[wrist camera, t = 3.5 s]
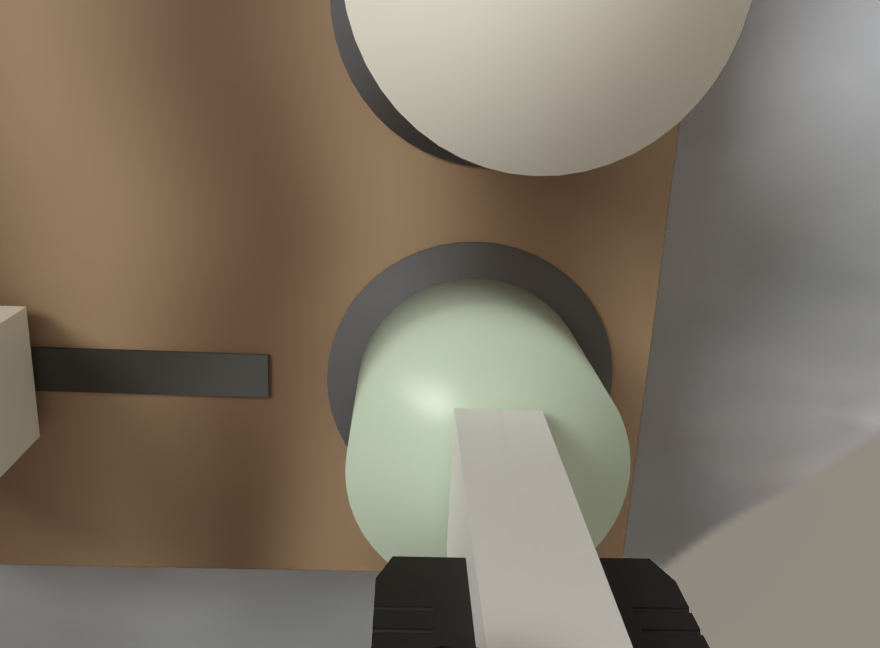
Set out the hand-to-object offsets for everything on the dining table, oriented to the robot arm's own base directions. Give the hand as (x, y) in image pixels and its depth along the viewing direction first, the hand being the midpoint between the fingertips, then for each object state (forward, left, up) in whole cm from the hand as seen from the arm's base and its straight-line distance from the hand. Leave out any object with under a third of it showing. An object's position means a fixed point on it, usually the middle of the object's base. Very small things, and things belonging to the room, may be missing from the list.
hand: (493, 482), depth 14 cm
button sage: (0, 0, -4) cm, 4 cm away
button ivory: (0, +8, -2) cm, 8 cm away
